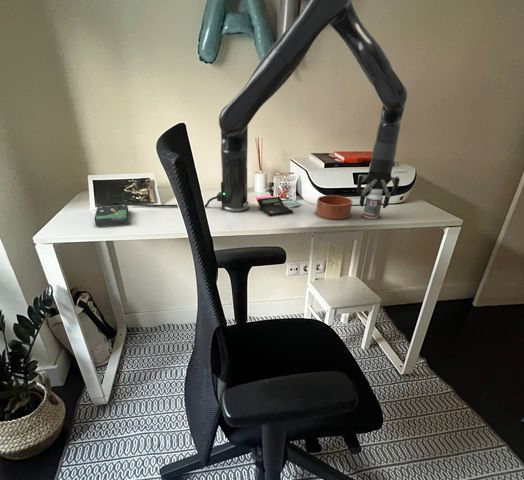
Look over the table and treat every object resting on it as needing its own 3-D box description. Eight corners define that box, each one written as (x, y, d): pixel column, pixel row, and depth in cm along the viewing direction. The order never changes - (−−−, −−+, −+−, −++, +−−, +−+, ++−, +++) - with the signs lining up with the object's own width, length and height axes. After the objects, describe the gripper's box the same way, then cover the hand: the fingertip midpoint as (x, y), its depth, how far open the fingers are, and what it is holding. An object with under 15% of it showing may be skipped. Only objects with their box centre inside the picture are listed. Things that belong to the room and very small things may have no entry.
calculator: (270, 216, 133) (270, 207, 131) (257, 206, 142) (257, 198, 140) (292, 213, 136) (293, 205, 135) (278, 204, 145) (279, 196, 143)
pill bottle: (378, 219, 133) (385, 191, 127) (363, 218, 134) (368, 189, 127) (378, 215, 137) (384, 186, 131) (362, 213, 138) (368, 185, 132)
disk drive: (98, 213, 132) (96, 227, 120) (96, 205, 130) (94, 218, 119) (128, 211, 134) (129, 224, 123) (127, 203, 132) (127, 216, 121)
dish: (315, 218, 132) (317, 204, 129) (316, 207, 142) (318, 194, 139) (350, 220, 131) (353, 206, 128) (349, 210, 141) (351, 196, 138)
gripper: (403, 155, 125) (391, 205, 135) (360, 153, 127) (352, 202, 137) (406, 160, 119) (394, 211, 129) (362, 157, 121) (353, 208, 131)
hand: (372, 206), depth 133 cm, fingers open, 7 cm apart
